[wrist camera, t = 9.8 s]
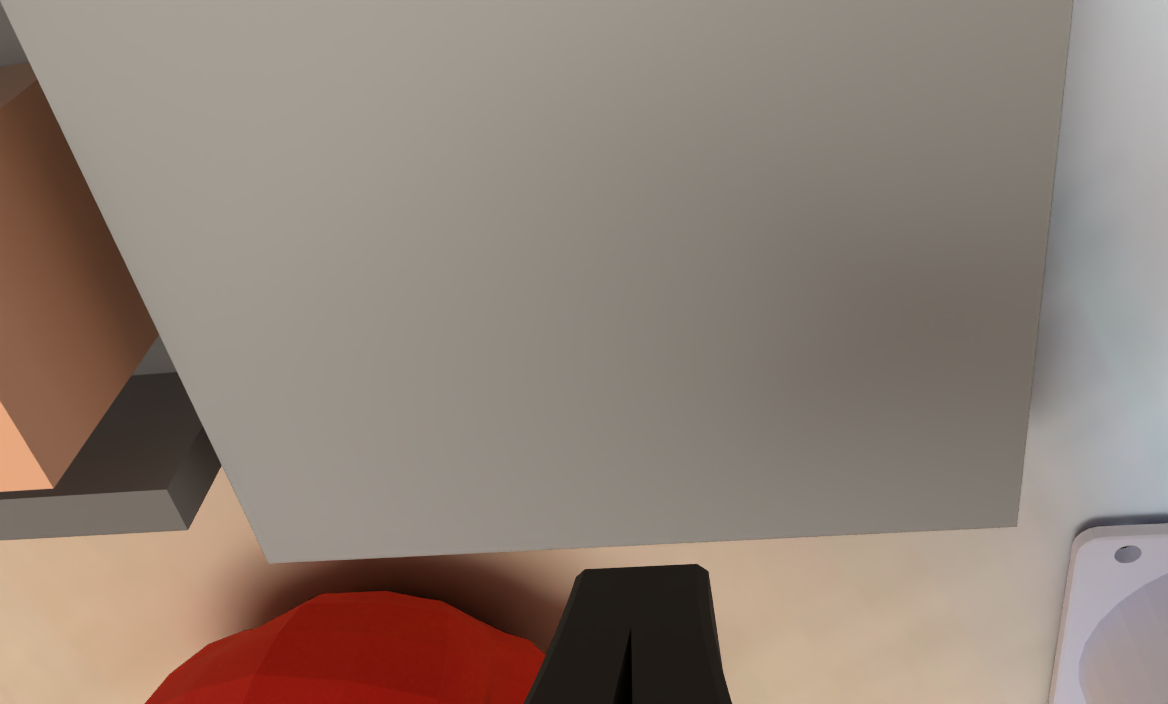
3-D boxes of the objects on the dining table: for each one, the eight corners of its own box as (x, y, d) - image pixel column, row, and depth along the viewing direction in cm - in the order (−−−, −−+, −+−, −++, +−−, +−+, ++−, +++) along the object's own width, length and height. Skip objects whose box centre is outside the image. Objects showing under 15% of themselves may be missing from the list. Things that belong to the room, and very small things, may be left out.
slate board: (1044, -461, 13) (1123, -465, 11) (980, 416, 21) (1016, 526, 19) (14, -267, 15) (-113, -234, 13) (312, 460, 23) (268, 563, 21)
